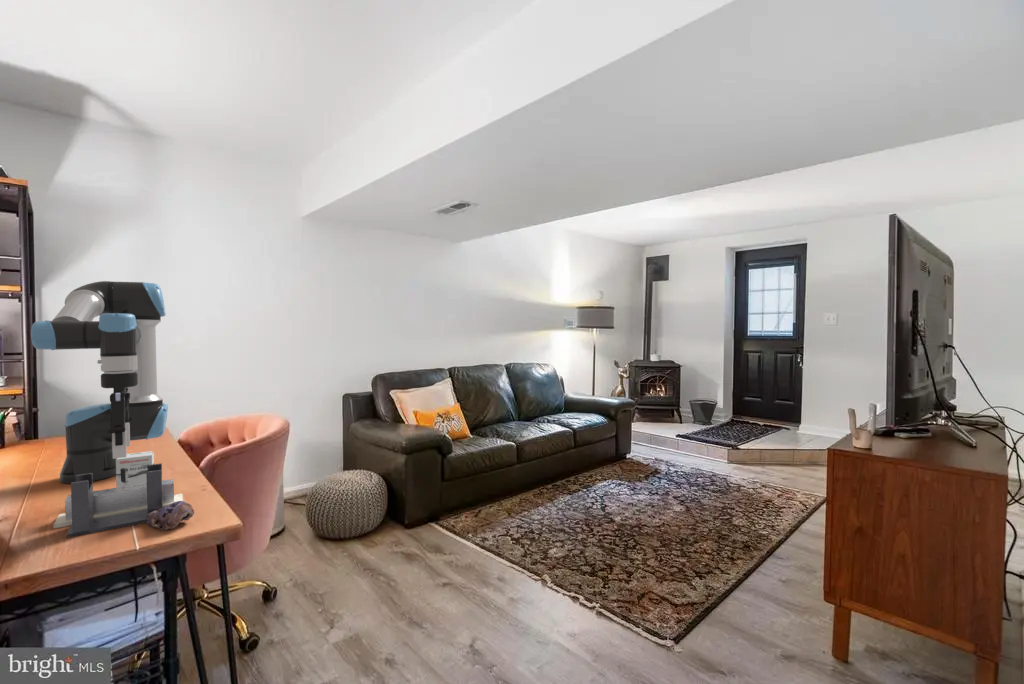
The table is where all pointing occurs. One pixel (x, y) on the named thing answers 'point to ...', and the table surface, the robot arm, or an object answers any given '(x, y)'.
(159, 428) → the robot arm
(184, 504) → the purple rock
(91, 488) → the stand
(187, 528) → the table surface
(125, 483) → the ink box
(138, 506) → the whetstone
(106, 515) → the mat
